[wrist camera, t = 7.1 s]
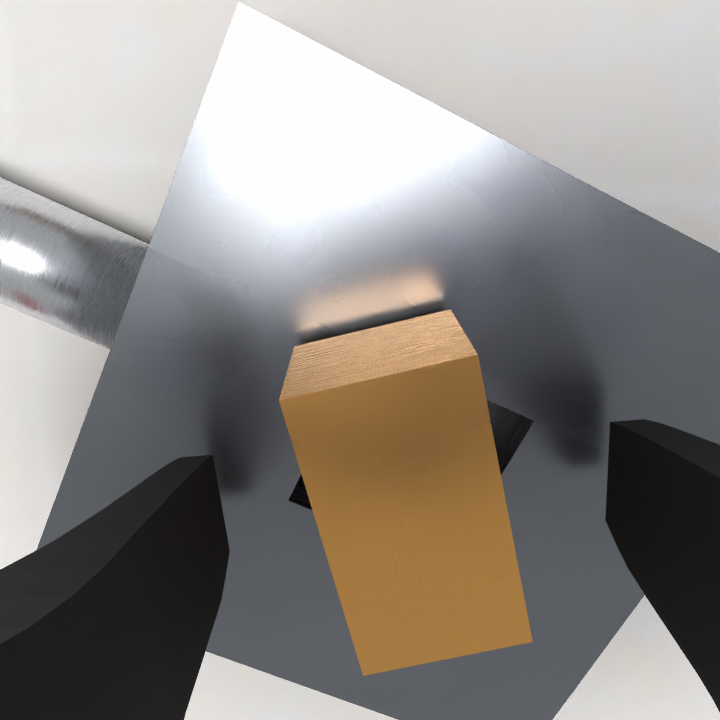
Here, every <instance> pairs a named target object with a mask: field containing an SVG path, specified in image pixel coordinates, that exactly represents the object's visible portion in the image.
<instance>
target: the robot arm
mask: <svg viewBox="0 0 720 720" xmlns="http://www.w3.org/2000/svg"><path fill="white" fill-rule="evenodd" d="M605 521H606V523H607V525H608V527H609V530H610V532H611V534H612V536H613V539H614V541H615V543H616V545H617V547H618V549H619V552H620V554H621V556H622V558H623V560H624V562H625V564H626V566H627V568H628V569H629V571H630V572H631V574H632V576H633V577H634V579H635V580H636V582H637V583H638V585H639V586H640V588H641V589H642V591H643V593H644V594H645V596H646V597H647V599H648V600H649V602H650V603H651V605H652V606H653V608H654V609H655V611H656V612H657V614H658V615H659V617H660V618H661V620H662V621H663V623H664V624H665V626H666V627H667V629H668V630H669V632H670V633H671V635H672V636H673V638H674V639H675V641H676V642H677V644H678V645H679V647H680V648H681V650H682V651H683V653H684V654H685V656H686V657H687V659H688V660H689V662H690V663H691V665H692V666H693V668H694V669H695V671H696V672H697V674H698V675H699V677H700V679H701V680H702V682H703V684H704V685H705V687H706V689H707V690H708V692H709V694H710V695H711V697H712V699H713V700H714V702H715V704H716V706H717V708H718V710H719V712H720V445H719V444H716V443H714V442H711V441H709V440H706V439H703V438H701V437H698V436H695V435H693V434H690V433H687V432H685V431H682V430H679V429H676V428H674V427H671V426H668V425H665V424H662V423H658V422H655V421H651V420H646V419H639V420H627V421H615V422H610V431H609V452H608V474H607V495H606V517H605ZM229 553H230V549H229V543H228V538H227V532H226V526H225V521H224V515H223V509H222V504H221V498H220V492H219V487H218V481H217V475H216V470H215V464H214V458H213V455H203V456H191V457H180V458H178V459H176V460H174V461H172V462H170V463H169V464H167V465H166V466H164V467H162V468H161V469H159V470H158V471H157V472H155V473H154V474H152V475H151V476H149V477H148V478H147V479H145V480H144V481H142V482H141V483H140V484H138V485H137V486H135V487H134V488H132V489H131V490H130V491H128V492H127V493H125V494H124V495H123V496H121V497H120V498H118V499H117V500H115V501H114V502H113V503H111V504H110V505H108V506H107V507H105V508H104V509H102V510H101V511H99V512H98V513H96V514H95V515H93V516H92V517H90V518H88V519H87V520H85V521H84V522H82V523H81V524H79V525H78V526H76V527H74V528H73V529H71V530H70V531H68V532H67V533H65V534H64V535H62V536H61V537H59V538H57V539H55V540H54V541H52V542H50V543H49V544H47V545H45V546H43V547H42V548H40V549H38V550H36V551H35V552H33V553H31V554H29V555H27V556H25V557H23V558H22V559H20V560H18V561H16V562H14V563H12V564H10V565H8V566H6V567H5V568H3V569H1V570H0V720H184V717H185V713H186V710H187V707H188V704H189V701H190V697H191V694H192V691H193V688H194V685H195V682H196V679H197V676H198V673H199V670H200V666H201V663H202V660H203V657H204V654H205V651H206V648H207V645H208V642H209V639H210V635H211V632H212V629H213V626H214V623H215V619H216V616H217V613H218V610H219V606H220V603H221V600H222V595H223V589H224V584H225V578H226V572H227V566H228V559H229Z"/></svg>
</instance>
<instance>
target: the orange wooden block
mask: <svg viewBox="0 0 720 720" xmlns="http://www.w3.org/2000/svg"><path fill="white" fill-rule="evenodd" d="M279 402H280V406H281V409H282V412H283V415H284V419H285V422H286V425H287V428H288V432H289V435H290V438H291V442H292V445H293V448H294V451H295V455H296V458H297V461H298V464H299V468H300V471H301V474H302V478H303V481H304V484H305V487H306V491H307V494H308V497H309V500H310V504H311V507H312V510H313V514H314V517H315V520H316V523H317V527H318V530H319V533H320V536H321V540H322V543H323V546H324V549H325V553H326V556H327V559H328V563H329V566H330V569H331V572H332V576H333V579H334V582H335V585H336V589H337V592H338V595H339V599H340V602H341V605H342V608H343V612H344V615H345V618H346V621H347V625H348V628H349V631H350V635H351V638H352V641H353V644H354V648H355V651H356V654H357V657H358V661H359V664H360V667H361V671H362V674H363V676H365V675H370V674H375V673H380V672H385V671H390V670H395V669H400V668H405V667H410V666H415V665H420V664H425V663H430V662H435V661H440V660H445V659H450V658H455V657H460V656H465V655H470V654H475V653H480V652H485V651H490V650H495V649H500V648H505V647H510V646H515V645H520V644H525V643H530V642H533V640H532V635H531V630H530V625H529V620H528V614H527V609H526V604H525V599H524V593H523V588H522V583H521V578H520V572H519V567H518V562H517V557H516V551H515V546H514V541H513V536H512V530H511V525H510V520H509V515H508V510H507V504H506V499H505V494H504V489H503V483H502V478H501V473H500V468H499V462H498V457H497V452H496V447H495V441H494V436H493V431H492V426H491V421H490V415H489V410H488V405H487V400H486V394H485V389H484V384H483V379H482V373H481V368H480V363H479V358H478V354H477V352H476V351H475V349H474V347H473V346H472V344H471V342H470V341H469V339H468V337H467V336H466V334H465V332H464V331H463V329H462V327H461V326H460V324H459V322H458V321H457V319H456V317H455V316H454V314H453V313H452V311H451V309H450V310H446V311H441V312H437V313H433V314H429V315H424V316H420V317H416V318H412V319H408V320H403V321H399V322H395V323H391V324H386V325H382V326H378V327H374V328H369V329H365V330H361V331H357V332H352V333H348V334H344V335H340V336H335V337H331V338H327V339H323V340H318V341H314V342H310V343H306V344H302V345H297V346H294V349H293V353H292V356H291V360H290V363H289V367H288V370H287V374H286V377H285V381H284V384H283V388H282V391H281V395H280V398H279Z"/></svg>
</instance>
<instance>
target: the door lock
mask: <svg viewBox="0 0 720 720" xmlns="http://www.w3.org/2000/svg"><path fill="white" fill-rule="evenodd" d="M0 303H1V304H3V305H6V306H8V307H11V308H13V309H15V310H18V311H20V312H22V313H25V314H27V315H30V316H32V317H34V318H37V319H39V320H41V321H44V322H46V323H49V324H51V325H53V326H56V327H58V328H60V329H63V330H65V331H68V332H70V333H72V334H75V335H77V336H79V337H82V338H84V339H87V340H89V341H91V342H94V343H96V344H98V345H101V346H103V347H106V348H108V349H110V352H109V355H108V358H107V360H106V363H105V366H104V369H103V371H102V374H101V377H100V379H99V382H98V385H97V388H96V390H95V393H94V396H93V398H92V401H91V404H90V407H89V409H88V412H87V415H86V417H85V420H84V423H83V425H82V428H81V431H80V434H79V436H78V439H77V442H76V444H75V447H74V450H73V453H72V455H71V458H70V461H69V463H68V466H67V469H66V472H65V474H64V477H63V480H62V482H61V485H60V488H59V491H58V493H57V496H56V499H55V501H54V504H53V507H52V510H51V512H50V515H49V518H48V520H47V523H46V526H45V529H44V531H43V534H42V537H41V539H40V542H39V545H38V548H37V550H38V549H40V548H42V547H43V546H45V545H47V544H49V543H50V542H52V541H54V540H55V539H57V538H59V537H61V536H62V535H64V534H65V533H67V532H68V531H70V530H71V529H73V528H74V527H76V526H78V525H79V524H81V523H82V522H84V521H85V520H87V519H88V518H90V517H92V516H93V515H95V514H96V513H98V512H99V511H101V510H102V509H104V508H105V507H107V506H108V505H110V504H111V503H113V502H114V501H115V500H117V499H118V498H120V497H121V496H123V495H124V494H125V493H127V492H128V491H130V490H131V489H132V488H134V487H135V486H137V485H138V484H140V483H141V482H142V481H144V480H145V479H147V478H148V477H149V476H151V475H152V474H154V473H155V472H157V471H158V470H159V469H161V468H162V467H164V466H166V465H167V464H169V463H170V462H172V461H174V460H176V459H178V458H180V457H191V456H203V455H213V458H214V464H215V470H216V475H217V481H218V487H219V492H220V498H221V504H222V509H223V515H224V521H225V526H226V532H227V538H228V543H229V549H230V553H229V559H228V566H227V572H226V578H225V584H224V589H223V595H222V600H221V603H220V606H219V610H218V613H217V616H216V619H215V623H214V626H213V629H212V632H211V635H210V639H209V642H208V645H207V648H206V651H207V652H210V653H213V654H215V655H218V656H221V657H224V658H227V659H229V660H232V661H235V662H238V663H241V664H244V665H246V666H249V667H252V668H255V669H258V670H260V671H263V672H266V673H269V674H272V675H274V676H277V677H280V678H283V679H286V680H289V681H291V682H294V683H297V684H300V685H303V686H305V687H308V688H311V689H314V690H317V691H319V692H322V693H325V694H328V695H331V696H334V697H336V698H339V699H342V700H345V701H348V702H350V703H353V704H356V705H359V706H362V707H364V708H367V709H370V710H373V711H376V712H379V713H381V714H384V715H387V716H390V717H393V718H395V719H398V720H552V719H553V718H554V717H555V715H556V714H557V713H558V711H559V710H560V709H561V707H562V706H563V704H564V703H565V702H566V700H567V699H568V698H569V696H570V695H571V694H572V692H573V691H574V690H575V688H576V687H577V685H578V684H579V683H580V681H581V680H582V679H583V677H584V676H585V675H586V673H587V672H588V671H589V669H590V668H591V667H592V665H593V664H594V662H595V661H596V660H597V658H598V657H599V656H600V654H601V653H602V652H603V650H604V649H605V648H606V646H607V645H608V644H609V642H610V641H611V639H612V638H613V637H614V635H615V634H616V633H617V631H618V630H619V629H620V627H621V626H622V625H623V623H624V622H625V621H626V619H627V618H628V616H629V615H630V614H631V612H632V611H633V610H634V608H635V607H636V606H637V604H638V603H639V602H640V600H641V599H642V598H643V596H644V595H645V594H644V593H643V591H642V589H641V588H640V586H639V585H638V583H637V582H636V580H635V579H634V577H633V576H632V574H631V572H630V571H629V569H628V568H627V566H626V564H625V562H624V560H623V558H622V556H621V554H620V552H619V549H618V547H617V545H616V543H615V541H614V539H613V536H612V534H611V532H610V530H609V527H608V525H607V523H606V521H605V517H606V495H607V474H608V452H609V431H610V422H615V421H627V420H639V419H646V420H651V421H655V422H658V423H662V424H665V425H668V426H671V427H674V428H676V429H679V430H682V431H685V432H687V433H690V434H693V435H695V436H698V437H701V438H703V439H706V440H709V441H711V442H714V443H716V444H719V445H720V253H719V252H717V251H715V250H713V249H711V248H709V247H707V246H705V245H703V244H701V243H699V242H698V241H696V240H694V239H692V238H690V237H688V236H686V235H684V234H682V233H680V232H678V231H677V230H675V229H673V228H671V227H669V226H667V225H665V224H663V223H661V222H659V221H657V220H655V219H654V218H652V217H650V216H648V215H646V214H644V213H642V212H640V211H638V210H636V209H634V208H633V207H631V206H629V205H627V204H625V203H623V202H621V201H619V200H617V199H615V198H613V197H611V196H610V195H608V194H606V193H604V192H602V191H600V190H598V189H596V188H594V187H592V186H590V185H589V184H587V183H585V182H583V181H581V180H579V179H577V178H575V177H573V176H571V175H569V174H567V173H566V172H564V171H562V170H560V169H558V168H556V167H554V166H552V165H550V164H548V163H546V162H545V161H543V160H541V159H539V158H537V157H535V156H533V155H531V154H529V153H527V152H525V151H523V150H522V149H520V148H518V147H516V146H514V145H512V144H510V143H508V142H506V141H504V140H502V139H501V138H499V137H497V136H495V135H493V134H491V133H489V132H487V131H485V130H483V129H481V128H479V127H478V126H476V125H474V124H472V123H470V122H468V121H466V120H464V119H462V118H460V117H458V116H457V115H455V114H453V113H451V112H449V111H447V110H445V109H443V108H441V107H439V106H437V105H435V104H434V103H432V102H430V101H428V100H426V99H424V98H422V97H420V96H418V95H416V94H414V93H413V92H411V91H409V90H407V89H405V88H403V87H401V86H399V85H397V84H395V83H393V82H391V81H390V80H388V79H386V78H384V77H382V76H380V75H378V74H376V73H374V72H372V71H370V70H369V69H367V68H365V67H363V66H361V65H359V64H357V63H355V62H353V61H351V60H349V59H347V58H346V57H344V56H342V55H340V54H338V53H336V52H334V51H332V50H330V49H328V48H326V47H325V46H323V45H321V44H319V43H317V42H315V41H313V40H311V39H309V38H307V37H305V36H304V35H302V34H300V33H298V32H296V31H294V30H292V29H290V28H288V27H286V26H284V25H282V24H281V23H279V22H277V21H275V20H273V19H271V18H269V17H267V16H265V15H263V14H261V13H260V12H258V11H256V10H254V9H252V8H250V7H248V6H246V5H244V4H242V3H240V2H238V5H237V8H236V10H235V13H234V16H233V18H232V21H231V24H230V27H229V29H228V32H227V35H226V37H225V40H224V43H223V46H222V48H221V51H220V54H219V56H218V59H217V62H216V65H215V67H214V70H213V73H212V75H211V78H210V81H209V84H208V86H207V89H206V92H205V94H204V97H203V100H202V103H201V105H200V108H199V111H198V113H197V116H196V119H195V122H194V124H193V127H192V130H191V132H190V135H189V138H188V141H187V143H186V146H185V149H184V151H183V154H182V157H181V160H180V162H179V165H178V168H177V170H176V173H175V176H174V179H173V181H172V184H171V187H170V189H169V192H168V195H167V198H166V200H165V203H164V206H163V208H162V211H161V214H160V217H159V219H158V222H157V225H156V227H155V230H154V233H153V236H152V238H151V241H150V244H148V243H145V242H143V241H141V240H139V239H136V238H134V237H132V236H130V235H128V234H125V233H123V232H121V231H119V230H116V229H114V228H112V227H110V226H108V225H105V224H103V223H101V222H99V221H97V220H94V219H92V218H90V217H88V216H85V215H83V214H81V213H79V212H77V211H74V210H72V209H70V208H68V207H66V206H63V205H61V204H59V203H57V202H54V201H52V200H50V199H48V198H46V197H43V196H41V195H39V194H37V193H34V192H32V191H30V190H28V189H26V188H23V187H21V186H19V185H17V184H15V183H12V182H10V181H8V180H6V179H3V178H1V177H0ZM450 309H451V311H452V313H453V314H454V316H455V317H456V319H457V321H458V322H459V324H460V326H461V327H462V329H463V331H464V332H465V334H466V336H467V337H468V339H469V341H470V342H471V344H472V346H473V347H474V349H475V351H476V352H477V354H478V358H479V363H480V368H481V373H482V379H483V384H484V389H485V394H486V400H487V405H488V410H489V415H490V421H491V426H492V431H493V436H494V441H495V447H496V452H497V457H498V462H499V468H500V473H501V478H502V483H503V489H504V494H505V499H506V504H507V510H508V515H509V520H510V525H511V530H512V536H513V541H514V546H515V551H516V557H517V562H518V567H519V572H520V578H521V583H522V588H523V593H524V599H525V604H526V609H527V614H528V620H529V625H530V630H531V635H532V640H533V642H530V643H525V644H520V645H515V646H510V647H505V648H500V649H495V650H490V651H485V652H480V653H475V654H470V655H465V656H460V657H455V658H450V659H445V660H440V661H435V662H430V663H425V664H420V665H415V666H410V667H405V668H400V669H395V670H390V671H385V672H380V673H375V674H370V675H365V676H363V674H362V671H361V667H360V664H359V661H358V657H357V654H356V651H355V648H354V644H353V641H352V638H351V635H350V631H349V628H348V625H347V621H346V618H345V615H344V612H343V608H342V605H341V602H340V599H339V595H338V592H337V589H336V585H335V582H334V579H333V576H332V572H331V569H330V566H329V563H328V559H327V556H326V553H325V549H324V546H323V543H322V540H321V536H320V533H319V530H318V527H317V523H316V520H315V517H314V514H313V510H312V507H311V504H310V500H309V497H308V494H307V491H306V487H305V484H304V481H303V478H302V474H301V471H300V468H299V464H298V461H297V458H296V455H295V451H294V448H293V445H292V442H291V438H290V435H289V432H288V428H287V425H286V422H285V419H284V415H283V412H282V409H281V406H280V402H279V398H280V395H281V391H282V388H283V384H284V381H285V377H286V374H287V370H288V367H289V363H290V360H291V356H292V353H293V349H294V346H297V345H302V344H306V343H310V342H314V341H318V340H323V339H327V338H331V337H335V336H340V335H344V334H348V333H352V332H357V331H361V330H365V329H369V328H374V327H378V326H382V325H386V324H391V323H395V322H399V321H403V320H408V319H412V318H416V317H420V316H424V315H429V314H433V313H437V312H441V311H446V310H450Z"/></svg>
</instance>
